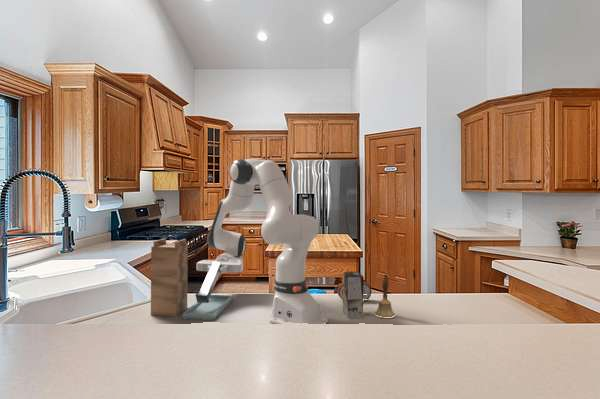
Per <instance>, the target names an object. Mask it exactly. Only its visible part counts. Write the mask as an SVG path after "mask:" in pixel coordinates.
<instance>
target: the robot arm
mask: <svg viewBox="0 0 600 399" xmlns="http://www.w3.org/2000/svg"><path fill="white" fill-rule="evenodd" d="M229 177H230V180H231V181H230V185H229V190H228V194H227V196H226V197H224V198H222V199H221V200H220V203H219V205H218V207H217V210H216V212H215V215H214V218H213V221H212V224H211V227H210V230H209V233H208V235H207V238H206V243H207V245H208V246H209V248H210V249H214V250H221V251H224V252H223V253H221V254H219V255H218V256H217V257H216V258H215V259H202V260H199V261H198V262H196V271H197V272H207V273H208V272H209V270H210V267H211V265H212V263H213V261H214V262H221V264H222V267H220V268H219V272H220V273H219V274H223V275H224V274H230V273H237V274H239V273H242V272H243V271H244V270H243V269H244V258H243V255H244V253H245V251H246V247H247V240H246V237H245V235H244V234H243V233H239V232H236V231H230V230H226V229H224V228H223V227H222V226H223V223H224V220H225V217H226V215H227V214H229V213H237V212H241V211H244V210H246V209H248V208H249V207H250V206H251V204H252V202H253V198H254V193H255V186H258V187H259V190H260V192H261V195H262V197H263V200H264V203H265V206H266V217H265V219H264V221H263V222H262V225H261V228H260V232H261V237H262V239H263V240H264V241H265V243H266V244H268V245H274V246H284V248H283V251H282V252H281V253H280V254H279V255H278V256H277V258H276V261H275V279H274V283H273V286H274V290H275V291H274V295H273V301H272V309H271V314H270V318H269V323H271V324H275V325H278V324H288V323H293V324H294V323H301V324H302V323H308V324H324V323H327V324H328V322H329V321H328V320H329V319H328V318H327V317H325V316H323V315H322V308H321V305H320V303H319V302H318V301H317V300H316V299H315V297H313V296H312V294H311V293H310V292H309V289H308V288H309V287H311V286H310V285H311V284H310V283H307V282H306V279H305V275H306V274H305V272H306V261H307V259H306V258H307V255H308V252H309V250H310V249H309V248H310V246H311V244H312V242H313V240H314V239H315V238H316V237H317V236H318V233H319V230H320V229H319V223H318V221H317V220H316V218H315V217H313V216H311V215H307V214H292V213H291V212H290V206H291V204H292V202H293V200H294V196H293V194H292V191H291V188H290V185H289V184H288V181H287V179H286V176H285V175H284V173H283V171H282V168H280V166H279V165H278V164H277V162H275V161H274V160H269V159H266V160H265V159H259V158H245V159H244V158H243V159H242V158H240V159H235V160H233V162H232V163H231V165H230V168H229Z"/></svg>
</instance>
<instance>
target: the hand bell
mask: <svg viewBox="0 0 600 399" xmlns="http://www.w3.org/2000/svg"><path fill="white" fill-rule="evenodd" d="M389 285H390V280H389V277H388V274H387V273H386V274H383V277H382V280H381V287H382V291H383V292H382V299H381V300H378V307H377V309H376V310H375V311H374V313H375V314H376V315H378V316H382V317H392V316H394V315H396V313H395V312H394V311H393V309H392V302H391V301H390V300H389V299H388V289H389Z"/></svg>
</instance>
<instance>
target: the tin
mask: <svg viewBox="0 0 600 399" xmlns="http://www.w3.org/2000/svg"><path fill="white" fill-rule="evenodd" d="M343 287H344V281H343V282H340V284H339V285H338V287H337V295H338V296H339V298H340V299H341V300H342V301H343ZM363 294H367V295H363V299H368V300H369V299H370V298H371V295H372V288H371V287H370V285H369V284H368V283H367V282H365V281H364V288H363Z"/></svg>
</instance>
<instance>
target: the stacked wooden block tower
mask: <svg viewBox="0 0 600 399" xmlns="http://www.w3.org/2000/svg"><path fill="white" fill-rule="evenodd" d="M150 249H151V250H150V251H151V253H150V255H151V256H150V257H151V258H150V260H151V261H150V262H151V263H150V315H151V316H163V317H164V316H165V317H177V316H178V315H180V314H181V313H183V311H185V310H186V309H187V308H188V276H189V275H188V273H189V272H188V262H189V259H188V258H189V255H188V254H189V252H188V251H189V243H187V238H183V239H180V240H176V241H174V243H172V242H167V239H166V238H162V239H157V240H154V241H153V246H151V248H150ZM185 308H186V309H185ZM184 309H185V310H184ZM179 313H180V314H179Z"/></svg>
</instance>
